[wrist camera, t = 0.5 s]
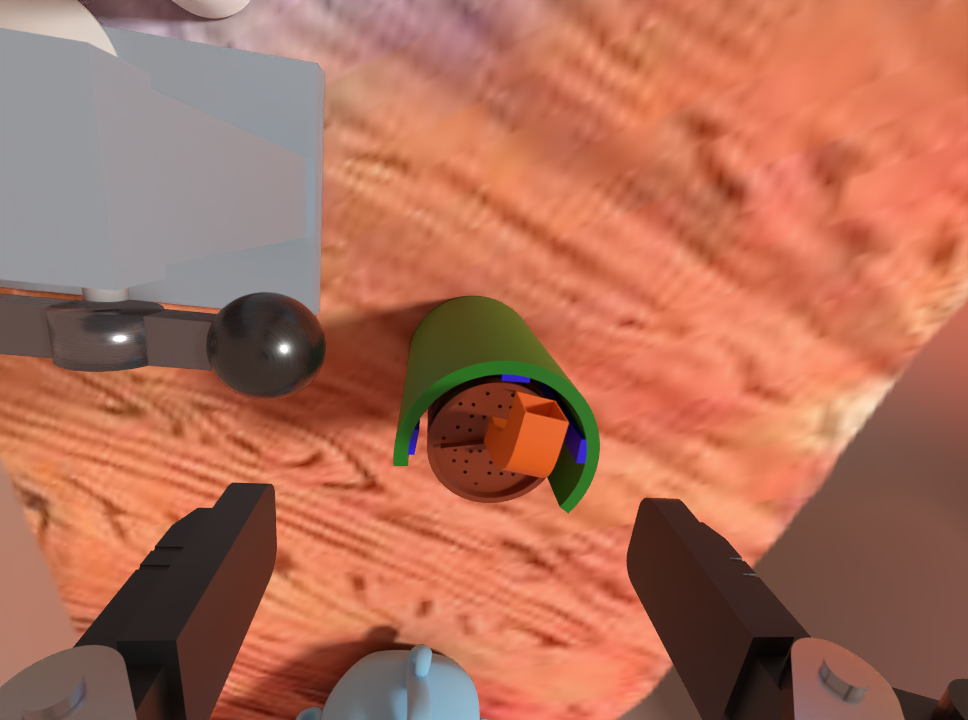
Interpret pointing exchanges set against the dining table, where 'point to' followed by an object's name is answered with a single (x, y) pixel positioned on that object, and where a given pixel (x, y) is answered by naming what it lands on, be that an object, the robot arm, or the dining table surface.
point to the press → (154, 164)
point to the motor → (494, 407)
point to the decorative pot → (401, 689)
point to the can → (212, 7)
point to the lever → (173, 339)
